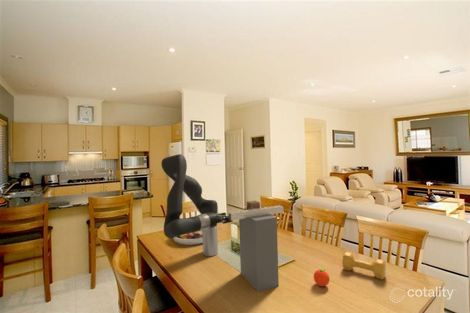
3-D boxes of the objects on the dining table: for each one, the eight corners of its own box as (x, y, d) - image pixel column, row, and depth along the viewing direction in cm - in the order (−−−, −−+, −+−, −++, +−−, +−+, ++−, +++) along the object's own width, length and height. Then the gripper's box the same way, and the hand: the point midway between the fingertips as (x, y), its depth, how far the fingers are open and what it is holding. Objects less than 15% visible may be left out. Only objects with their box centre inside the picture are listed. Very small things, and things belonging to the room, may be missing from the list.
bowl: (169, 236, 184) (169, 225, 184) (206, 229, 197) (206, 220, 197) (177, 250, 157) (177, 238, 157) (220, 241, 170) (219, 230, 170)
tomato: (317, 278, 117) (317, 264, 117) (332, 283, 113) (332, 268, 113) (311, 286, 111) (311, 270, 111) (326, 291, 107) (326, 275, 106)
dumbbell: (386, 275, 119) (386, 258, 118) (384, 283, 112) (383, 265, 111) (345, 264, 131) (345, 249, 130) (341, 271, 124) (340, 255, 123)
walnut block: (246, 211, 124) (246, 201, 124) (255, 210, 126) (255, 200, 126) (251, 213, 119) (250, 203, 119) (260, 212, 121) (259, 202, 121)
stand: (240, 273, 124) (238, 211, 123) (259, 268, 128) (257, 209, 128) (257, 292, 107) (255, 220, 107) (278, 285, 112) (276, 217, 111)
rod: (228, 219, 111) (228, 212, 111) (280, 211, 122) (279, 205, 122) (231, 220, 108) (230, 214, 108) (283, 212, 119) (283, 206, 119)
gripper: (213, 215, 112) (239, 209, 123) (196, 212, 123) (221, 207, 133) (214, 231, 112) (240, 224, 123) (197, 226, 122) (222, 220, 133)
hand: (230, 215), depth 128 cm, fingers open, 8 cm apart
